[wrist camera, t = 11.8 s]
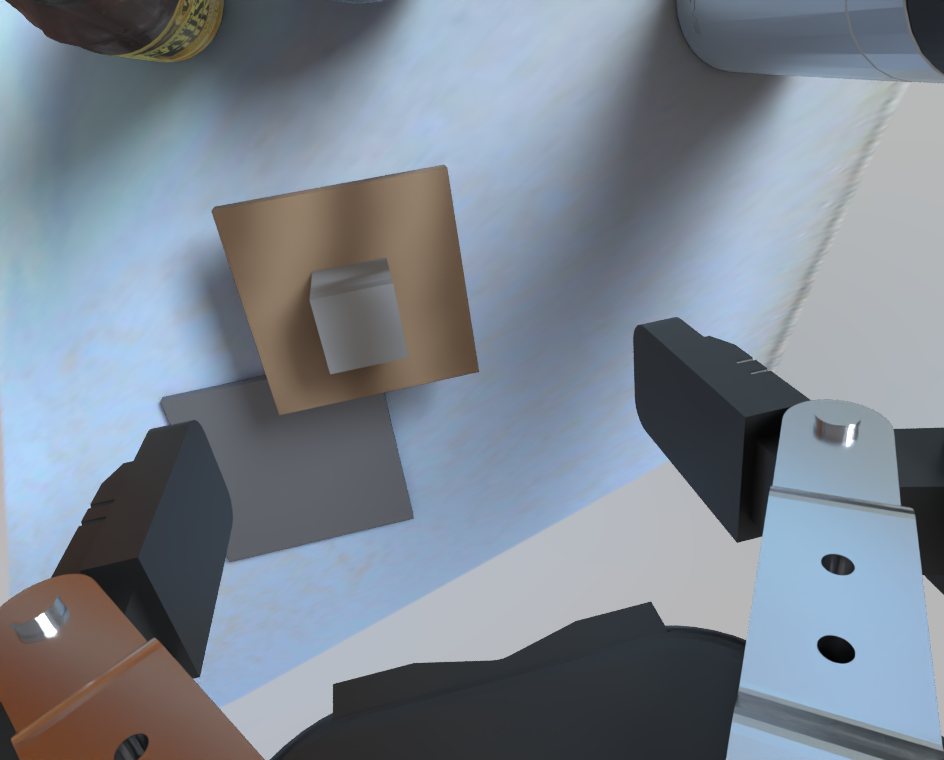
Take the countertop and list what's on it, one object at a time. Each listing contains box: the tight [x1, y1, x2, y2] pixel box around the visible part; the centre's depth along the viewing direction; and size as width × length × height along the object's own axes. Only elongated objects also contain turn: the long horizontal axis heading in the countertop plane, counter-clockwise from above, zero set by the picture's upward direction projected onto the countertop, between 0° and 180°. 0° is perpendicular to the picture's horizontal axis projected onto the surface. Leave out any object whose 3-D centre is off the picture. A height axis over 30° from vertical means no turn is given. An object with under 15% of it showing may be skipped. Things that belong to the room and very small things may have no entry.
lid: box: [212, 165, 479, 415], centre depth 34 cm, size 12×12×6 cm
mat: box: [161, 376, 414, 562], centre depth 46 cm, size 14×14×1 cm
